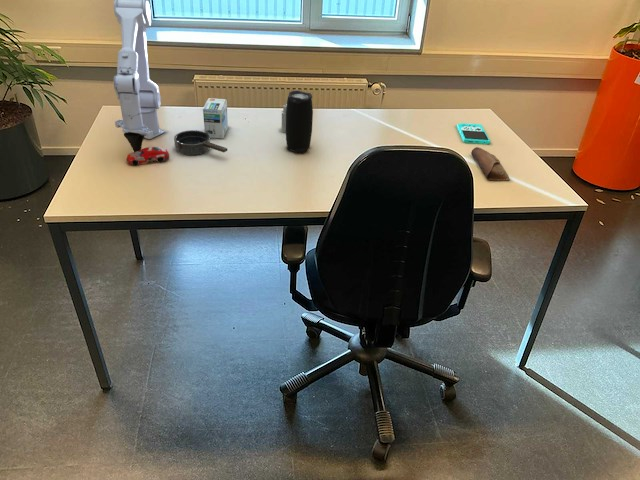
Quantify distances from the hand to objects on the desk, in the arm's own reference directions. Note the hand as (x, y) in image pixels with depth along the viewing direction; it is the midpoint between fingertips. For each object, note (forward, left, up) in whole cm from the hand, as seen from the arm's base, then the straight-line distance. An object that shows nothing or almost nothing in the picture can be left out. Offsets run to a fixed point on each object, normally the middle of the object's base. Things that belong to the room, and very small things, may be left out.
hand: (137, 152), depth 170 cm
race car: (+5, 0, -2) cm, 5 cm away
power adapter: (+28, +47, -2) cm, 55 cm away
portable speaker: (+39, +36, -2) cm, 53 cm away
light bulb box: (+8, +30, -2) cm, 31 cm away
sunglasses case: (+99, +63, -2) cm, 117 cm away
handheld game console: (+86, +87, -2) cm, 122 cm away
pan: (+10, +15, -1) cm, 18 cm away
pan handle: (+20, +15, +2) cm, 25 cm away
